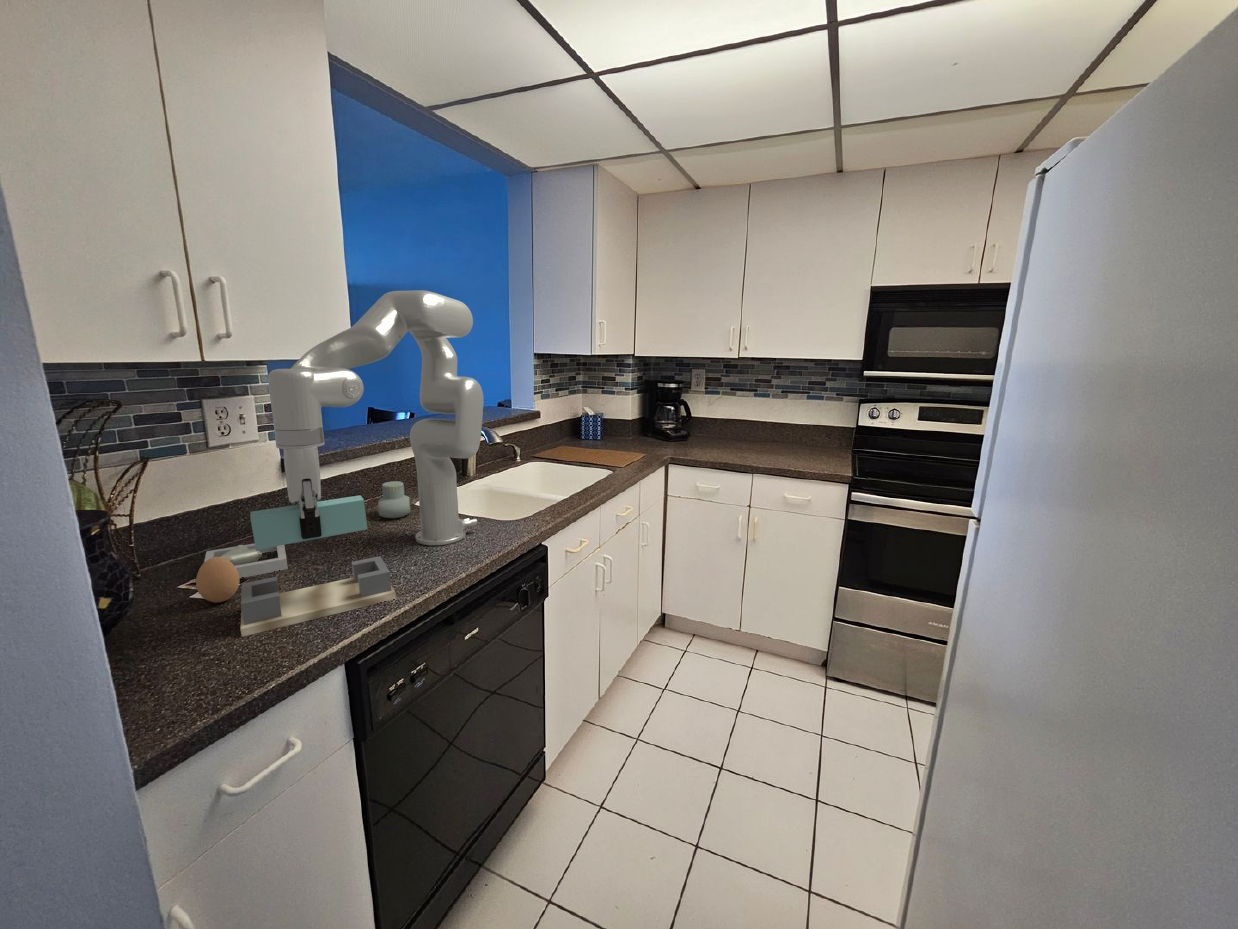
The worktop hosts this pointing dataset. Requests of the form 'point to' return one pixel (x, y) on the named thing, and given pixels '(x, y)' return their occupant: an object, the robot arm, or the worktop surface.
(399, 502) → the air freshener
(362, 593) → the grey slat holder
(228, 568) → the egg
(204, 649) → the worktop surface
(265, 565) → the parts tray
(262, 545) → the slat
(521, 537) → the worktop surface
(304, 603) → the base board
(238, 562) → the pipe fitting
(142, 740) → the worktop surface
